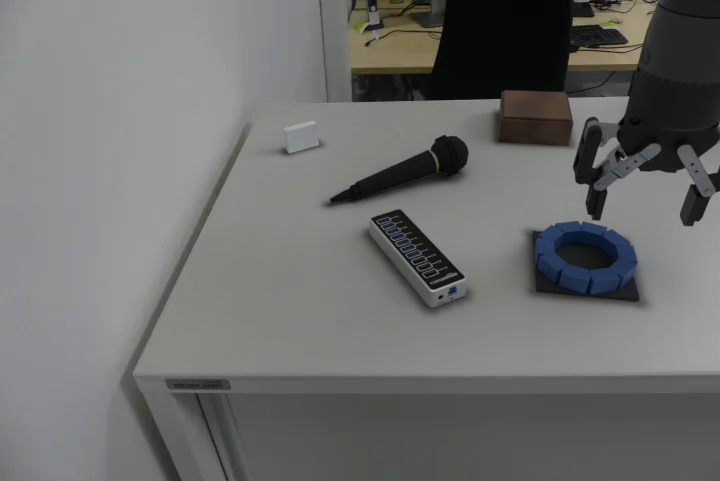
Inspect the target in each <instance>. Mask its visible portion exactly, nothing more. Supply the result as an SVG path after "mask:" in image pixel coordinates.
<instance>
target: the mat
mask: <svg viewBox="0 0 720 481" xmlns="http://www.w3.org/2000/svg"><path fill="white" fill-rule="evenodd" d="M542 232H543V230H541V231H540V230H533V231H532V246H533V248H532V249H533V261H534V262H533V263H534V277H535V290H536V292H540V293H549V294H550V293H551V294H562V295H572V296H582V297H591V298H603V299H612V300H622V301H631V302H632V301H633V302H639V301H640V299H641V298H640V294H639V291H638V287H637V284H636V279H635V274H634V275H633V277H632V278H631V279H630V280H629V281H628V282H627V283H626V284H625V285H624V286H623V287H622V288H621V289H620V290H619V289H616V291H615V292H607V293H598V294H590V293H589V291H588V289H587V291H586V293H585V294H584V293H580V292H577V291H574V290H570V289H567V288H564V287H560V286H559V282H557V283H553V282H552V281H550V280H549V279H548V278H547V277H546V276H545V275H544V274H543V273H542V272H540V271H539V270H538V269H537V268H538V266H537V265H535V251H534V250H535V244H536V239H537V238H538V235H539V234H540V233H542ZM555 253H556V254H557V255H558V256H559V257H561V258H562V259H563V260H564V261H565V262H567V263H568V264H570V265H573V266H577V267H580V268H584V269H587V270H594V269H603V268H609V267H610V266H611V265H612V264H614V263H613V259H612V258H611V257H610V256H609V255H607V254H606V253H605V252H603V251H602V250H601V249H599V248H598V247H595V246H591V245H587V244H583V243H570V244H561V245H560V246H559V247H558V248H556V249H555Z"/></svg>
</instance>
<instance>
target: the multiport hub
mask: <svg viewBox="0 0 720 481" xmlns="http://www.w3.org/2000/svg"><path fill="white" fill-rule="evenodd" d="M368 224H369V236H370V237H371V238H372V239H373V240H374V242H375V243H376V244H377V245H378V247H379V248H380V249H381V250H382V251H383V253H384V254H385V255H386V256H387V257H388V259H389V260H390V261H391V262H392V264H393V265H394V266H395V267H396V269H397V270H398V271H399V272H400V273H401V274H402V276H403V277H404V279H405V280H406V281H407V283H409V284H410V286H411V287H412V288H413V289H414V291H415V292H416V293H417V294H418V295H419V297H420V298H421V299H422V300H423V301H424V303H425V304H426V305H427V307H429V308H431V309H435V308H437V307H439V306H442V305H444V304H447V303H450V302H453V301H455V300H458V299H460V298H462V297H464V296H466V293H467V282H468V276H466V275H465V274H464V272H462V270H461V269H460V268H459V267H458V266H457V265H456V263H454V262H453V261H452V260H451V258H450V257H448V255H446V253H445V252H443V250H442V249H441V248H440V247H438V245H437V244H436V243H435V242H434V241H433V240H432V239H431V238H430V237H429V236H428V235H427V234H426V233H425V231H424V230H423V229H422V228H421V227H420V226H418V224H417V223H416V222H415V221H414V220H413V219H412V218H411V217H410V216H409V215H408V214H407V213H406V212H405V210H404V209H402V208H396V209H392V210H389V211H386V212H383V213H380V214H377V215H374V216H371V217H370V218H369V219H368Z"/></svg>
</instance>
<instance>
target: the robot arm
mask: <svg viewBox="0 0 720 481" xmlns="http://www.w3.org/2000/svg"><path fill="white" fill-rule="evenodd" d="M630 88H631V89H630V92H629V97H628V100H627V105H626V108H625V112H624V114H623V116H622V118H621V119H620V120H619V121H618V122H617V123H613V122H602V121H600V120H599V118H598V117H596V116H589V117H588V118H587V119H585V122H584V125H583V129H582V132H581V136H580V140H579V143H578V146H577V151H576V153H575V157H574V160H573V164H572V170H573V173H574V181H575V183H576V184H577V185H587V186H588V190H587V193H586V198H585V202H584V203H585V208H586V212H587V215H589V216H590V217H591V221H595V222H596V221H597V222H600V221H601V219H602V215H603V211H604V208H605V205H606V200H607V196H608V192H609V191H608V187H610V186H611V185H612V184H613V183H615V182H616V181H618V180H619V179H620V180H621V179H625V178H626V177H627V176H629V175H631V173H633V172H634V171H635V170H636V169H638V170H639V172H645V173H647V172H648V173H649V172H657V171H659V172H664V173H666V174H677V171H681V170H684V169H686V171H687V173H688V175H689V176H690V178H691V180H692V181H693V183H689V184H690V185H689V187H688V190H687V192H686V195H685V198H684V201H683V203H682V206H681V208H680V210H679V219H680V221H681V223H682V225H683V227H693V226H694V224H695V222H698V223H699V222H700V221H701V220H702V219H703V217H704V215H705V212H706V210H707V208H708V205H709V202H710V200H711V198H712V196H714V195H715V194H716V193H719V192H720V165H719V166H718V169H717V172H712V173H708V172H707V171H706V169H705V167H704V165H703V163H702V162H701V160H700V158H701V157H702V156H703V155H705V154H706V153H707V152H708V151H709V150H711V149H712V148H713V147H715V146H716V145H717V144H718V143H719V142H720V0H657V1H656V4H655V8H654V11H653V13H652V16H651V18H650V20H649V23H648V26H647V29H646V32H645V35H644V39H643V43H642V45H641V50H640V54H639V58H638V61H637V67H636V70H635V74H634V77H633V81H632V85H631V87H630ZM613 138H616V140H617V142H618V145H616V146H615V147H614V148H612V150H611V151H609V152H608V153H607V155H606V158H604V159H603V160H602V161H601V162H599V163H598V164H597V165H596V166H594V163H595V161H596V157H597V153H598V150H599V148H604V146H606V145H607V144H608V142H609V141H610V140H611V139H613ZM593 166H594V167H593Z"/></svg>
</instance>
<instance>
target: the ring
mask: <svg viewBox="0 0 720 481" xmlns="http://www.w3.org/2000/svg"><path fill="white" fill-rule="evenodd" d="M570 243H583V244H587V245H591V246H595V247H598V248H599V249H601V250H602V251H603V252H605V253H606V254H607V255H609V256H610V257H611V258H612V259H613V263H614V264H612V265H611V266H610V267H609V268H603V269H594V270H587V269H584V268H580V267H577V266H573V265H570V264H568V263H567V262H565V261H564V260H563V259H562V258H561V257H559V256H558V255H557V254H556V253H555V249H556V248H558V247H559V246H560V245H561V244H570ZM534 251H535V264H534V266H535V265H537V266H538V268H537V269H538V270H539V271H540V272H542V273H543V274H544V275H545V276H546V277H547V278H548V279H549V280H550V281H552V282H553V283H557V282H559V286H560V287H564V288H567V289H570V290H574V291H577V292H580V293H584V294H585V293H586V291H587V289H588V291H589V293H590V294H598V293H607V292H615V291H616V289H619V290H620V289H621V288H622V287H623V286H624V285H625V284H626V283H627V282H628V281H629V280H630V279H631V278H632V277H633V275H634V276H635V272H636V269H637V265H638V257H637V253H636V250H635V246H634V245H633V244H632V245H631V241H629V240H628V239H627V238H626V237H624V236H622V235H621V234H620V233H618V232H617V231H615V230H614V229H608V226H604V225H600V224H596V223H593V222H592V223H591V222H588V221H582V222H580V221H579V220H574V221H564V222H556V223H555V224H550V225H549V226H548V227H547V228H546V229H544V230H542V233H540V234H539V235H538V238H537V239H536V244H535V250H534V249H533V252H534Z"/></svg>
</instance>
